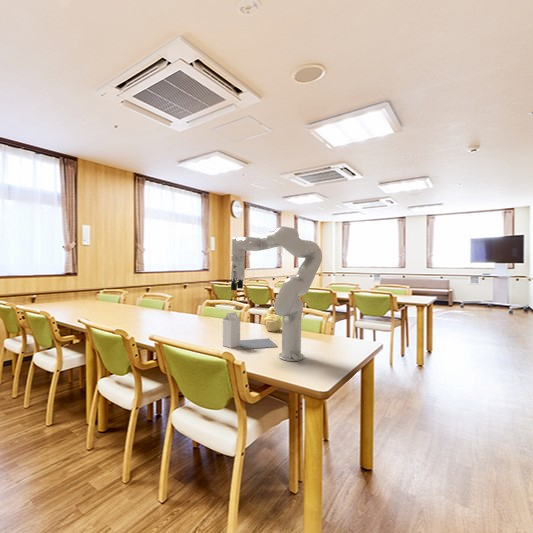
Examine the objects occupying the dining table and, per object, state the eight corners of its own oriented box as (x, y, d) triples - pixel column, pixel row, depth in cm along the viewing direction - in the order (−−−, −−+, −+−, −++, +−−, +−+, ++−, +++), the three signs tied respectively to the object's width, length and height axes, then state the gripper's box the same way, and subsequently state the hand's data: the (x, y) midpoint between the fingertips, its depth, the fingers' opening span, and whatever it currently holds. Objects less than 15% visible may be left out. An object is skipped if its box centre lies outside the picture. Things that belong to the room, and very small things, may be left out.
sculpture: (261, 331, 210) (261, 315, 210) (269, 328, 221) (269, 313, 220) (276, 333, 205) (276, 317, 205) (284, 329, 215) (284, 314, 215)
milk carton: (222, 345, 174) (222, 312, 174) (232, 343, 180) (232, 311, 179) (230, 348, 170) (230, 314, 169) (240, 345, 175) (240, 312, 174)
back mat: (277, 347, 173) (277, 346, 173) (243, 349, 167) (243, 348, 167) (268, 339, 190) (268, 338, 190) (237, 341, 185) (237, 340, 185)
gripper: (238, 259, 164) (238, 291, 164) (249, 259, 180) (248, 288, 181) (225, 259, 165) (225, 290, 166) (237, 258, 182) (236, 287, 183)
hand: (237, 289), depth 174 cm, fingers open, 9 cm apart
